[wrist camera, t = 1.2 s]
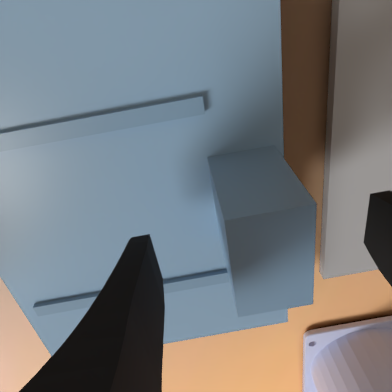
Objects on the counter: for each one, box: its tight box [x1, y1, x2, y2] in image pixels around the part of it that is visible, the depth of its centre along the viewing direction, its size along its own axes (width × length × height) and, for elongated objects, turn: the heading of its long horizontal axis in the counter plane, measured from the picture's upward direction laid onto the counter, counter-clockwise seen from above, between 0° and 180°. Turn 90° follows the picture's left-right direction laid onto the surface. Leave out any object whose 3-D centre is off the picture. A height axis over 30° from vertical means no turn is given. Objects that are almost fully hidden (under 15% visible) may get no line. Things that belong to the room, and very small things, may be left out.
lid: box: [0, 0, 317, 356], centre depth 12 cm, size 16×12×5 cm
